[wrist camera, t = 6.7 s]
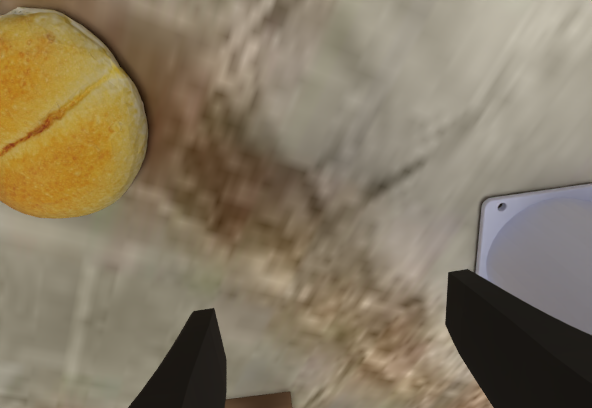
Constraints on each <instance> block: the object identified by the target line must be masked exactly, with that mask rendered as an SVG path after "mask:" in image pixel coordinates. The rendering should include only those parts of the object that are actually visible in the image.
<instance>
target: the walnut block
mask: <svg viewBox="0 0 592 408" xmlns="http://www.w3.org/2000/svg"><path fill="white" fill-rule="evenodd" d="M225 408H292V403H291V394H290V392H282V393H274V394H266V395H258V396H250V397H242V398H235V399H227V400H225Z"/></svg>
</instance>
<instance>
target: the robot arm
mask: <svg viewBox="0 0 592 408" xmlns="http://www.w3.org/2000/svg"><path fill="white" fill-rule="evenodd" d="M501 203H503V204H502V206H501V207H500V208H498V205H499V204H501ZM445 325H446V327H447V329H448V331H449V333H450V336H451V338H452V340H453V342H454V344H455V346H456V348H457V350H458V352H459V354H460V356H461V357H462V359H463V361H464V362H465V364H466V365H467V367H468V369H469V370H470V372H471V373H472V375H473V376H474V378H475V380H476V381H477V383H478V384H479V386H480V387H481V389H482V390H483V392H484V393H485V395H486V396H487V398H488V400H489V401H490V403H491V404H492V406H493V407H494V408H592V183H591V184H584V185H577V186H570V187H563V188H556V189H549V190H542V191H535V192H528V193H521V194H514V195H506V196H499V197H492V198H488V199H487V200H485V201H484V202H483V204H482V208H481V219H480V230H479V241H478V252H477V262H476V273H474V272H472V271H470V270H468V269H467V270H460V271H454V272H448V289H447V305H446V322H445ZM225 400H226V356H225V352H224V347H223V343H222V339H221V335H220V331H219V326H218V322H217V318H216V314H215V310H214V308H212V309H205V310H198V311H194V312H193V313H192V314H191V315H190V317H189V319H188V321H187V322H186V324H185V326H184V328H183V329H182V331H181V333H180V334H179V336H178V338H177V339H176V341H175V342H174V344H173V346H172V347H171V349H170V350H169V352H168V353H167V355H166V357H165V358H164V360H163V361H162V363H161V364H160V366H159V367H158V369H157V370H156V371H155V373H154V374H153V376H152V377H151V378H150V380H149V381H148V382H147V384H146V385H145V387H144V388H143V389H142V391H141V392H140V393H139V395H138V396H137V397H136V398H135V400H134V401H133V402H132V403H131V405H130V406H129V407H128V408H225Z"/></svg>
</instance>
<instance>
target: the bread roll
mask: <svg viewBox="0 0 592 408" xmlns="http://www.w3.org/2000/svg"><path fill="white" fill-rule="evenodd" d="M147 139H148V125H147V119H146V114H145V111H144V104H143V102H142V100H141V96H140V95H139V93H138V90H137V88H136V86H135V84H134V83H133V81H132V80H131V79H130V77H129V76H128V75H127V74H126V73H125V71H124V70H123V69H122V68H121V67H120V66H119V64H118V62H117V61H116V59H115V58H114V56H113V54H112V53H111V52H110V50H109V49H108V48H107V47H106V46H105V44H104V43H103V42H102V41H100V40H99V39H98V38H97V37H96V36H95V35H94V34H92V33H91V32H90V31H88V30H87V29H86V28H85V27H84V26H82V25H81V24H79V23H77V22H75V21H73V20H72V19H70V18H69V17H67V16H66V15H64V14H63V13H60V12H57V11H55V10H49V9H37V8H24V7H17V8H16V9H14V10H12V11H11V12H9V13H7V14H5V15H3V16H0V201H2V202H3V203H5V204H6V205H8V206H9V207H11V208H13V209H15V210H17V211H19V212H22V213H24V214H28V215H31V216H35V217H39V218H69V217H78V216H84V215H88V214H91V213H94V212H97V211H100V210H102V209H104V208H106V207H108V206H109V205H111V204H113V203H114V202H116V201H117V200H119V199H120V198H121V196H122V195H123V194H124V193H125V192H126V191H127V190H128V188H129V187H130V185H131V184H132V182H133V180H134V178H135V177H136V175H137V174H138V172H139V170H140V168H141V165H142V162H143V160H144V158H145V154H146V149H147Z"/></svg>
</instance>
